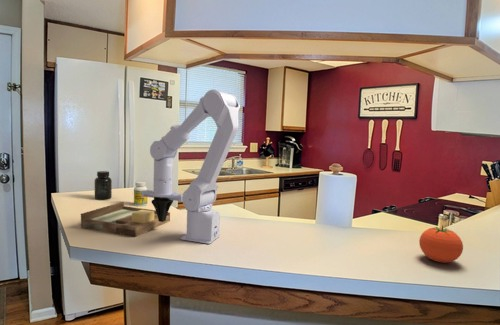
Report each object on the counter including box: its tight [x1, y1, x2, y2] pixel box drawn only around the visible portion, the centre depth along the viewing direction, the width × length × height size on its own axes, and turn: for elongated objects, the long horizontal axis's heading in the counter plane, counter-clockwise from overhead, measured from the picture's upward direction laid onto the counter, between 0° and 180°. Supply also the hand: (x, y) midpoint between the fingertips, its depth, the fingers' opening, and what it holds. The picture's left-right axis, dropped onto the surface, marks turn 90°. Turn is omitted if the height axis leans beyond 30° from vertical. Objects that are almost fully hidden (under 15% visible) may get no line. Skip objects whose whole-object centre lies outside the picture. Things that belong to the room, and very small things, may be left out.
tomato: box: [418, 225, 464, 263], centre depth 87 cm, size 10×10×10 cm
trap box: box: [80, 201, 171, 238], centre depth 107 cm, size 20×19×4 cm
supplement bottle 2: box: [133, 181, 148, 207], centre depth 134 cm, size 5×5×10 cm
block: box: [132, 210, 154, 223], centre depth 105 cm, size 5×5×3 cm
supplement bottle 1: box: [94, 170, 113, 201], centre depth 142 cm, size 7×7×12 cm
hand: (162, 220), depth 103 cm, fingers closed
